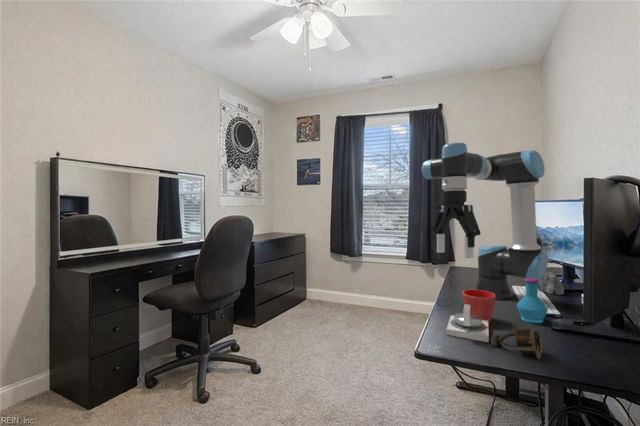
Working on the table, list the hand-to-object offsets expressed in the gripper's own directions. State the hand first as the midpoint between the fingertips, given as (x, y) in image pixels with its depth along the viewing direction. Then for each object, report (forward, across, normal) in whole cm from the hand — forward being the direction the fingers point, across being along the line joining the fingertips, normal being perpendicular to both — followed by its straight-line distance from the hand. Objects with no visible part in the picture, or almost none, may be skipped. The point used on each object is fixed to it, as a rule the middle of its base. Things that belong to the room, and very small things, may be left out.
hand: (453, 255), depth 100 cm
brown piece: (+26, +16, +9) cm, 32 cm away
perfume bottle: (+25, -1, +35) cm, 43 cm away
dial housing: (+26, 0, +6) cm, 26 cm away
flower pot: (+26, -7, +17) cm, 31 cm away
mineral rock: (+24, -26, +76) cm, 84 cm away
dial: (+23, +1, +4) cm, 24 cm away
